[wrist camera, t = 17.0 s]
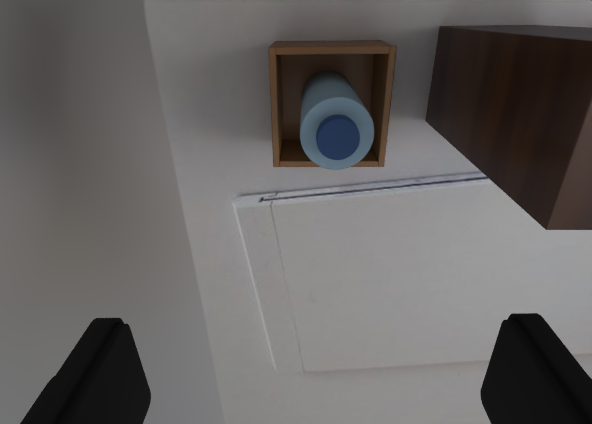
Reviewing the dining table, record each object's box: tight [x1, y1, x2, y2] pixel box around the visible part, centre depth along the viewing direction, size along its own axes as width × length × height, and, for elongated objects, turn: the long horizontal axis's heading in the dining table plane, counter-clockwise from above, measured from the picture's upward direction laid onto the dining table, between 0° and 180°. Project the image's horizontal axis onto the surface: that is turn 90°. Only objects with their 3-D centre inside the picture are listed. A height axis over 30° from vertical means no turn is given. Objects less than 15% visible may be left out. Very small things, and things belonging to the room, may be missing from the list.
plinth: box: [426, 25, 592, 230], centre depth 24 cm, size 8×8×20 cm
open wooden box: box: [269, 40, 396, 167], centre depth 31 cm, size 9×9×6 cm
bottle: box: [300, 70, 374, 170], centre depth 28 cm, size 5×5×13 cm
